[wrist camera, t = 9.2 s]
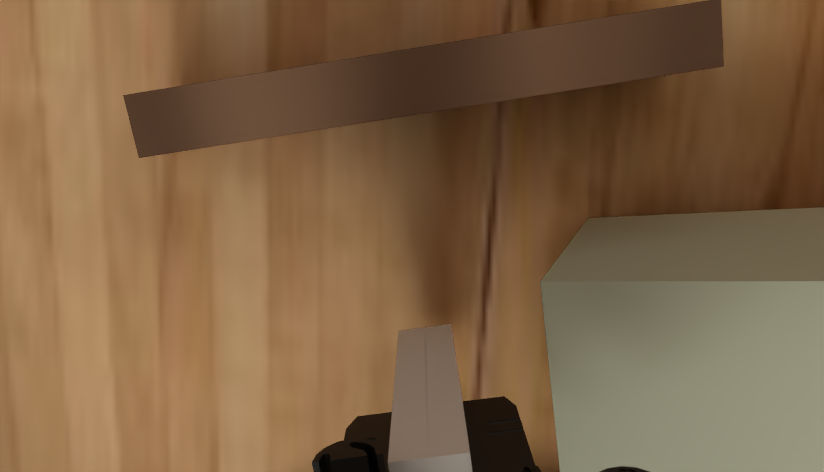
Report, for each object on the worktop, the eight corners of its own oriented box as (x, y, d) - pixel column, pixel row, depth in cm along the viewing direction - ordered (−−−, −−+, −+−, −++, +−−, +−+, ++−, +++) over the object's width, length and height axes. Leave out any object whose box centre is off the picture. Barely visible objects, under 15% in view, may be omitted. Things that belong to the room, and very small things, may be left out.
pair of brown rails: (292, 586, 22) (268, 677, 19) (179, 95, 18) (123, 95, 15) (695, 538, 21) (748, 623, 18) (662, 17, 18) (720, -2, 14)
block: (605, 426, 20) (568, 555, 15) (588, 217, 19) (540, 281, 14) (960, 461, 16) (1074, 651, 11) (973, 200, 15) (1111, 280, 10)
